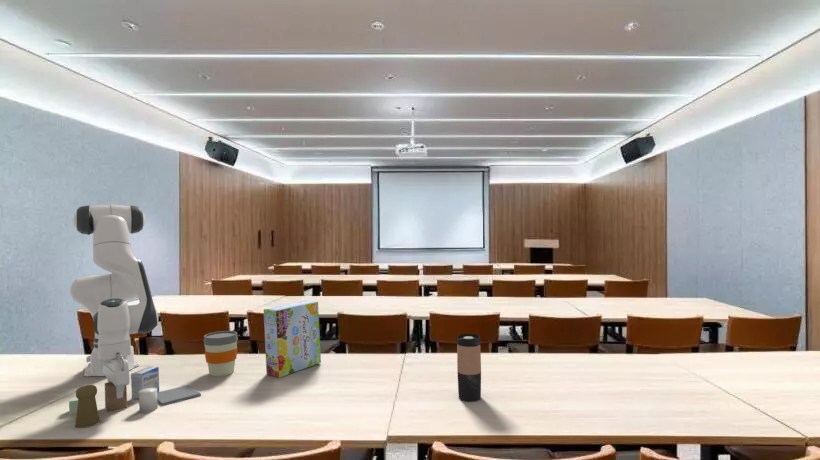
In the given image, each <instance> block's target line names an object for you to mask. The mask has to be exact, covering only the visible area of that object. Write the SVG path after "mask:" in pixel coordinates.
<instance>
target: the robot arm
mask: <svg viewBox="0 0 820 460" xmlns="http://www.w3.org/2000/svg"><path fill="white" fill-rule="evenodd" d="M73 224H74V227H75V228H76V231H77V232H78V233H80V234H82V235H88V236H90V235H93V236H92V261H93V262H94V264H95V265H96V266H97V267H98V268H101V269H102V270H104V271H107V272H108V273H109V274H96V275H94V274H91V275H87V276H82V277H78V278H76V279H75V280H74V281H73V282H72V283H71V285H70V289H69V292H70V296H71V298H72V299H73V300H74V301H75V303H78V304H79V305H81V306H83V307H84V308H85V309H86V310H88V312H89V314H90V315H91V317H92V320H93V321H92V322H93V333H94V338H93V341H92V342H93V343H92V344H93V350H92V351H91V354H90V355H88V356H86V363H87V365H85V368H84V374H83V377H106V379H107V383H108V382H112V383H113V384H114V385H115V386H116V398H118V399H119V398H122V397H123V391H124V387H125V385H126V386H128V385H129V384H130V382H131V378H130V371H131V370H132V369H134V368H136V367H139V366H140V363H139V362H136V361H135V352H134V346H133V345H131V343H132V342H131V341H132V340H131V336H130V335H132V334H133V335H134V334H150V332H152V331H153V330H155V329H156V327H157V326H158V323H159V313H158V311H157V310H158V309H157V307H156V306H155V303H154V299H153V295H152V291H151V289H150V288H151V287H150V284H149V280H148V277H147V272H146V269H145V265H144V264H143V262H142V260H141V259H140V258H137V257H135V254H134V253H133V252H132V247H131V236H130V234H132V235H133V234H138V233H140V232H141V231H143V228H144V226H145V224H146V215H145V212H143V208H141V207H140V206H136V205H130V206H129V205H124V204H97V205H83V206H82V205H81V206H79V207H78V208H77V209H76V212H75V213H74V215H73ZM137 298H138V301H139V302H138V304H130V305H128V302H127V301H129V300H133V299H137Z"/></svg>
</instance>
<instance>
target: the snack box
mask: <svg viewBox="0 0 820 460" xmlns="http://www.w3.org/2000/svg"><path fill="white" fill-rule="evenodd" d="M319 316H320V315H319V302H318V301H311V300H302V301H297V302H292V303H287V304H281V305H278V306H273V307H269V308H268V307H267V308H264V309H263V324H264V347H265V369H266V371H265V372H266V375H268V376H271V377H276V378H279V379H280V378H283V377H284V376H288V375H291V374H293V373H296V372H299V371H302V370H304V369H307V368H311V367H312V366H316V365H318V364H321V363H322V358H321V356H322V355H321V337H320V335H321V334H320V317H319Z"/></svg>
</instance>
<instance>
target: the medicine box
mask: <svg viewBox="0 0 820 460" xmlns="http://www.w3.org/2000/svg"><path fill="white" fill-rule="evenodd" d="M159 369H160V367H158V366H147V367H143V368H142V369H139V370H137V371H135V372H131V374H130V385H131V399H135V400H136V399H137V400H139V391H140V390H143V389H146V388H157V392H160V371H159Z"/></svg>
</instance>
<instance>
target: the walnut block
mask: <svg viewBox="0 0 820 460" xmlns="http://www.w3.org/2000/svg"><path fill="white" fill-rule="evenodd" d="M127 390H128V389H127V385H125V387H124V391H123V397H122V398H119V399H118V398H116V386H115V385H114V384H113V383H112V382H108V381H107V382H105V383H104V402H105V403H104V407H105V409H106V410H107V412H108V413H112V412H116V411H121V410H124V409H127V408H128V397H127V396H128V394H127V393H128V392H127Z"/></svg>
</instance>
